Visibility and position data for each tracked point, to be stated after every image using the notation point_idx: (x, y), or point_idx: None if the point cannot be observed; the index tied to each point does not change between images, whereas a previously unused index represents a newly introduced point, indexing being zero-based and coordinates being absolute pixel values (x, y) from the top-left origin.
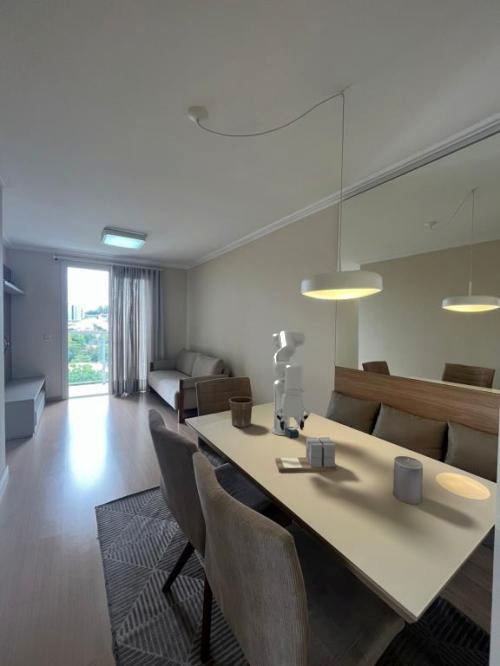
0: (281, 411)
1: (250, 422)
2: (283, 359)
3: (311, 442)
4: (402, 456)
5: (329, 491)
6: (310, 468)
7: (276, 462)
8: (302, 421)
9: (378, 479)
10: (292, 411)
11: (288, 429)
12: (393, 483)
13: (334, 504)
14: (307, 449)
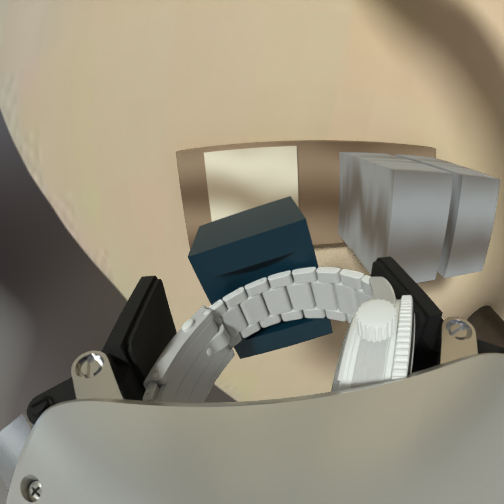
0: (34, 428)
1: None
2: None
3: (397, 253)
4: None
5: (342, 340)
6: (333, 242)
7: (181, 187)
8: (415, 371)
9: (481, 272)
10: None
11: (231, 286)
12: (476, 336)
13: (329, 377)
14: (362, 189)
